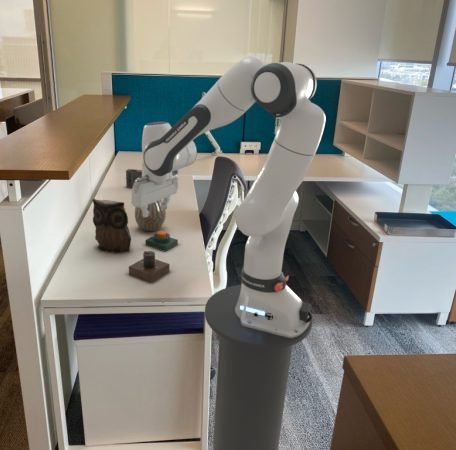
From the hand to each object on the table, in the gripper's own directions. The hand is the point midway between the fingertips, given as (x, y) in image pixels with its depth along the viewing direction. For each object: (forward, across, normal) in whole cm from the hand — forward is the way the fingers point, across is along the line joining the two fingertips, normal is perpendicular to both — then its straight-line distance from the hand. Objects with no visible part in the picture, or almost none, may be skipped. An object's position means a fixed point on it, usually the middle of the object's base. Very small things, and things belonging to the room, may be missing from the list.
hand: (155, 212), depth 148 cm
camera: (+24, +70, +67) cm, 100 cm away
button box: (+23, +19, +12) cm, 32 cm away
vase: (+23, +29, +26) cm, 45 cm away
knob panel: (+22, -2, +1) cm, 22 cm away
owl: (+23, +7, +25) cm, 35 cm away
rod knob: (+19, -2, +1) cm, 19 cm away
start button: (+19, +19, +12) cm, 29 cm away
